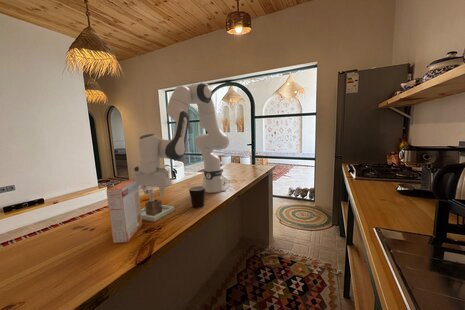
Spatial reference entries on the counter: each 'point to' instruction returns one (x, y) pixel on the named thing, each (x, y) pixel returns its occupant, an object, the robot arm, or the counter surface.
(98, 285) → the counter surface
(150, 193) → the rod
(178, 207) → the counter surface
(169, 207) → the sage dish
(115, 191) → the cracker box
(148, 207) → the walnut block
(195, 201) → the coffee mug
